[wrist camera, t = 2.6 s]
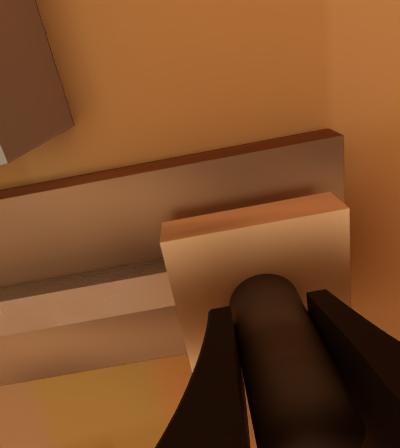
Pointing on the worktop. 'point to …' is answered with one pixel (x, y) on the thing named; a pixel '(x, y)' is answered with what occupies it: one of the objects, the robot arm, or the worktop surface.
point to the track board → (138, 238)
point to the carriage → (271, 310)
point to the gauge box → (27, 83)
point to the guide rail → (84, 296)
